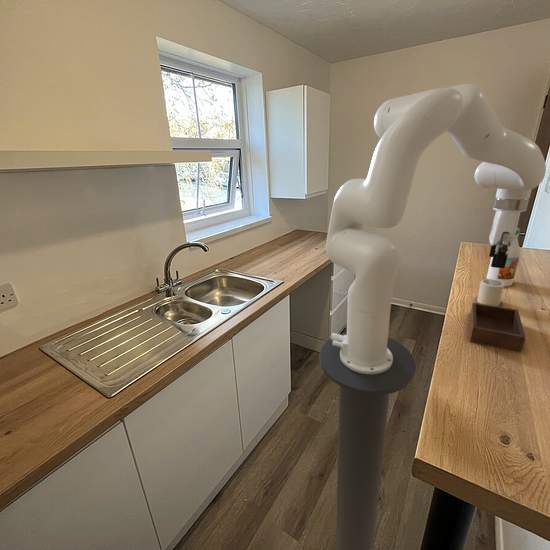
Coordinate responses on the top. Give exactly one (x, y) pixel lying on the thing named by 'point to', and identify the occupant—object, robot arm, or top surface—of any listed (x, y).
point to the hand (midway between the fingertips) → (496, 262)
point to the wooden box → (496, 327)
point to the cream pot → (490, 292)
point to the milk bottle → (507, 264)
